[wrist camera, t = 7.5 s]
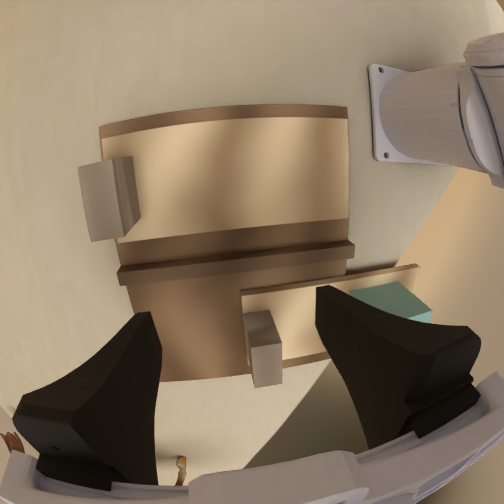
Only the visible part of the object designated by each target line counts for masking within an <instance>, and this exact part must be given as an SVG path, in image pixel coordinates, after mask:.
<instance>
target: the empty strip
mask: <svg viewBox="0 0 504 504" xmlns="http://www.w3.org/2000/svg"><path fill="white" fill-rule="evenodd" d="M102 148H103V157H104V161H102V162H97V163H93V164H89V165H85V166H81V167H78V174H79V181H80V187H81V194H82V200H83V205H84V211H85V216H86V221H87V226H88V230H89V235H90V239H91V242H93V241H100V240H107V239H114V238H117V243H124V242H131V241H139V240H146V239H154V238H162V237H170V236H178V235H187V234H195V233H204V232H212V231H221V230H230V229H239V228H249V227H259V226H268V225H278V224H289V223H299V222H310V221H321V220H333V219H345V218H348V215H349V143H348V120H347V119H337V118H313V117H270V118H245V119H230V120H217V121H207V122H197V123H189V124H181V125H174V126H167V127H161V128H154V129H149V130H143V131H138V132H132V133H127V134H123V135H118V136H113V137H109V138H105V139H102Z"/></svg>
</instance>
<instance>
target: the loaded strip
mask: <svg viewBox="0 0 504 504" xmlns="http://www.w3.org/2000/svg"><path fill="white" fill-rule="evenodd" d="M419 272H420V266H418V265H417V264H410V265H404V266H399V267H394V268H388V269H382V270H377V271H371V272H365V273H359V274H353V275H347V276H341V277H334V278H328V279H322V280H315V281H308V282H301V283H295V284H287V285H280V286H273V287H266V288H258V289H250V290H242V291H240V294H241V304H242V314H243V324H244V334H245V344H246V353H247V361H248V365H250V369H251V374H252V378H253V383H254V387H255V388H258V387H265V386H271V385H277V384H282V360H286V359H291V358H296V357H302V356H307V355H311V354H316V353H321V352H325V351H327V350H326V349H325V347H324V345H323V343H322V341H321V339H320V337H319V334H318V331H317V329H316V326H315V306H316V287H319V286H324V285H331V286H333V287H335V288H337V289H339V290H341V291H343V292H345V293H347V294H349V291H353V290H358V289H363V288H368V287H373V286H378V285H383V284H388V283H393V282H399V283H401V284H402V285H403V286H404V287H405V288H407V289H408V290H409V291H410V292H411V293H413V294H414V295H415V291H416V287H417V282H418V277H419Z"/></svg>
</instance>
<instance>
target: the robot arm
mask: <svg viewBox="0 0 504 504" xmlns="http://www.w3.org/2000/svg"><path fill="white" fill-rule="evenodd" d="M463 55H464V57H465V60H466V62H463V63H457V64H451V65H445V66H439V67H434V68H429V69H424V70H420V71H415V72H408V71H404V70H401V69H397V68H393V67H389V66H384V65H380V64H371V65H369V67H368V70H369V79H370V89H371V101H372V116H373V140H374V158H375V159H376V160H377V161H381V162H403V163H419V164H432V165H443V166H457V167H462V168H467V169H471V170H475V171H479V172H484V173H487V174H488V175H489V176H490V178H491V181H492V184H493V185H494V186H497V187H500V188H504V33H499V34H494V35H489V36H486V37H482V38H479V39H476V40H473V41H471V42H469V43H468V44H467V48H466V51H465V52H464V54H463ZM378 69H380V70H381V73H380V72H379V70H378ZM384 153H386V158H385V157H384ZM315 326H316V329H317V331H318V334H319V337H320V339H321V341H322V343H323V345H324V347H325V349H326V350H327V352H328V354H329V356H330V357H331V359H332V361H333V362H334V364H335V366H336V368H337V369H338V371H339V373H340V374H341V376H342V378H343V380H344V382H345V384H346V386H347V388H348V391H349V393H350V395H351V398H352V400H353V403H354V405H355V408H356V411H357V413H358V416H359V419H360V422H361V425H362V428H363V431H364V434H365V437H366V441H367V444H368V447H369V450H368V451H365V452H363V453H360V454H357V455H354V453H352V452H346V451H339V450H337V451H332V452H326V453H321V454H317V455H313V456H309V457H305V458H301V459H297V460H293V461H288V462H283V463H279V464H273V465H267V466H261V467H255V468H249V469H240V470H232V471H222V472H216V473H211V474H205V475H201V476H199V477H197V478H195V479H193V480H192V481H190V482H189V483H188V486H159V485H158V478H157V470H156V459H155V440H154V416H155V406H156V399H157V393H158V387H159V381H160V375H161V369H162V345H161V342H160V339H159V336H158V333H157V330H156V327H155V324H154V321H153V318H152V315H151V312H150V311H147V312H137V313H136V314H135V315H134V316H133V317H132V318H131V319H130V320H129V321H128V322H127V323H126V324H125V325H124V326H123V327H122V328H121V330H120V331H119V332H118V333H117V334H116V335H115V336H114V337H113V338H112V339H111V340H110V341H109V342H108V343H107V344H106V345H105V346H103V347H102V348H101V349H100V350H99V351H98V352H97V353H96V354H95V355H94V356H92V357H91V358H90V359H89V360H87V361H86V362H85V363H84V364H82V365H81V366H79V367H78V368H76V369H75V370H73V371H72V372H70V373H69V374H67V375H66V376H64V377H62V378H61V379H59V380H57V381H55V382H53V383H51V384H49V385H47V386H45V387H43V388H40V389H38V390H35V391H33V392H30V393H27V394H24V395H23V396H22V398H21V400H20V402H19V404H18V407H17V409H16V411H15V413H14V415H13V418H12V420H13V423H14V426H15V427H16V429H17V431H18V432H19V433H20V434H21V435H22V436H23V437H24V438H25V439H26V440H27V441H28V442H29V443H30V444H31V445H32V446H33V447H34V448H35V449H36V450H37V451H38V452H39V453H40V455H39V459H36V458H35V457H33V456H30V455H28V454H25V453H22V452H19V451H16V450H12V452H11V455H10V458H9V461H8V463H7V467H6V470H5V473H4V476H3V480H2V483H1V487H0V498H1V499H3V500H4V501H5V502H7V503H8V504H416V502H418V501H419V500H421V499H423V498H425V497H426V496H428V495H430V494H431V493H433V492H434V491H436V490H437V489H439V488H440V487H442V486H443V485H445V484H447V483H448V482H449V481H451V480H452V479H454V478H455V477H456V476H458V475H459V474H461V473H462V472H463V471H464V470H466V469H467V468H468V467H470V466H471V465H472V464H474V463H475V462H476V461H477V460H479V459H480V458H481V457H482V456H483V455H485V454H486V453H487V452H488V451H489V450H491V449H492V448H493V447H494V446H495V445H496V444H497V443H498V442H499V441H500V440H501V439H502V438H503V437H504V379H503V378H502V377H501V376H500V375H499V374H498V373H497V372H494V373H493V374H491V375H490V376H488V377H487V378H486V379H484V380H483V381H481V382H480V383H479V384H478V385H477V386H476V388H475V387H474V386H473V385H472V384H471V383H472V382H473V377H472V376H471V375H470V374H469V373H470V371H471V369H472V367H473V364H474V363H475V360H476V358H477V356H478V354H479V351H480V347H481V339H480V337H479V336H478V335H476V334H475V333H474V332H473V331H472V330H471V329H470V328H469V327H468V326H450V325H438V324H431V323H425V322H420V321H415V320H411V319H407V318H403V317H400V316H397V315H394V314H391V313H388V312H385V311H383V310H380V309H378V308H376V307H373V306H371V305H369V304H367V303H365V302H363V301H361V300H359V299H357V298H355V297H353V296H351V295H349V294H347V293H345V292H343V291H341V290H339V289H337V288H335V287H333V286H331V285H324V286H319V287H316V306H315Z"/></svg>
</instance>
